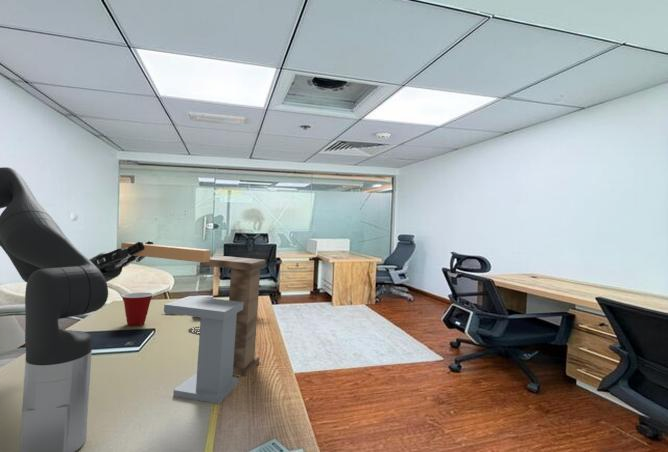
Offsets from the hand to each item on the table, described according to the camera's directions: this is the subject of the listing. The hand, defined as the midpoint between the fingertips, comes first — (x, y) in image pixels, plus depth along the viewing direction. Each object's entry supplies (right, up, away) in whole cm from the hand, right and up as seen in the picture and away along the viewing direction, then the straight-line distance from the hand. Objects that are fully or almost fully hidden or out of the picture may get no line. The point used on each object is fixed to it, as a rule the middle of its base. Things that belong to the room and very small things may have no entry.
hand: (147, 244), depth 84 cm
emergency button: (-20, -35, +61) cm, 73 cm away
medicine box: (-9, -35, +57) cm, 67 cm away
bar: (+5, -3, -1) cm, 6 cm away
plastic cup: (-29, -34, +41) cm, 60 cm away
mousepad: (+1, -36, +39) cm, 53 cm away
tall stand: (+18, -37, +11) cm, 42 cm away
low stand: (+15, -37, -3) cm, 40 cm away
